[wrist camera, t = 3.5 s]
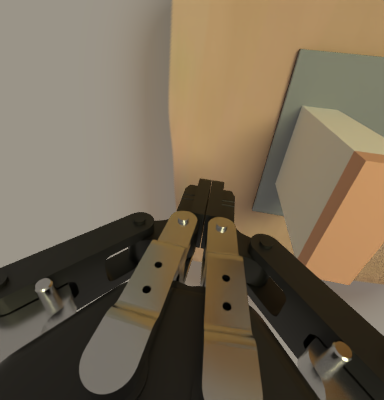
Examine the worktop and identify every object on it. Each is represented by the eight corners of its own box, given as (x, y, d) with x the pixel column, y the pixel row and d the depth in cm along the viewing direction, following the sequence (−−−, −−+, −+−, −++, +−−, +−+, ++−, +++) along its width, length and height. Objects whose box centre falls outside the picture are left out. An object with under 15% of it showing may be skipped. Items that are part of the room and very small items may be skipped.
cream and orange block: (337, 109, 19) (441, 171, 9) (303, 188, 24) (349, 284, 14) (302, 105, 19) (365, 160, 10) (275, 183, 24) (300, 275, 14)
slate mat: (556, 74, 16) (564, 74, 16) (412, 235, 25) (415, 238, 25) (299, 49, 18) (301, 49, 17) (252, 208, 27) (252, 210, 26)
